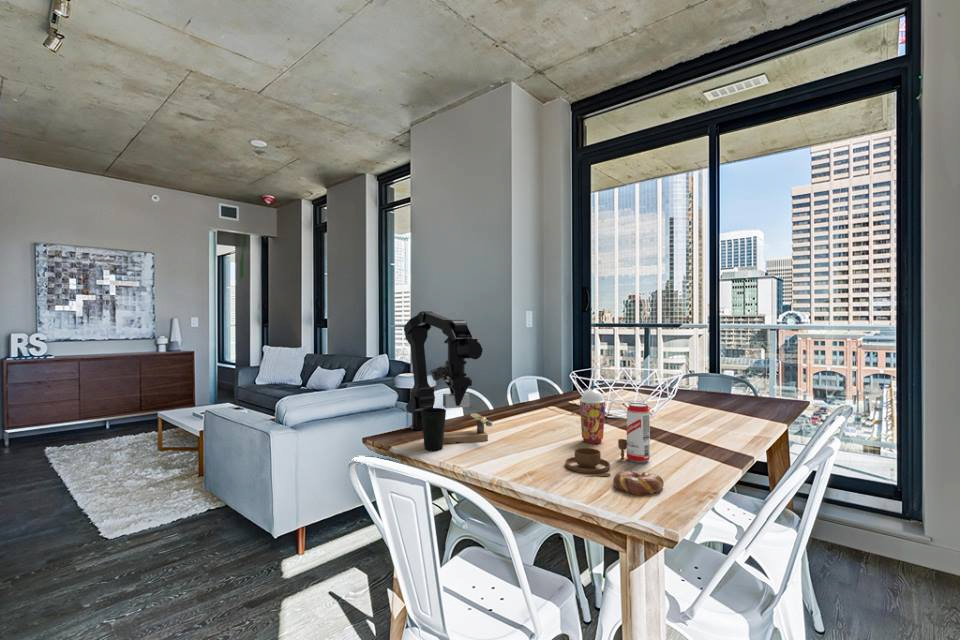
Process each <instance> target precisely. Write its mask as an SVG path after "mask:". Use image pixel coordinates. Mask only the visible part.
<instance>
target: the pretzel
mask: <svg viewBox="0 0 960 640" xmlns="http://www.w3.org/2000/svg"><path fill="white" fill-rule="evenodd" d="M612 482H613V486H614V487H615V488H616V489H617V490H619V491H621V492H624V493H629V494H630V495H634V496H644V495H648V494H650V495H651V494H652V495H653V494H654V493H655V494H658V493H660V492H661V491H662V489H663V488H664V485H665V483H664V481H663V478H662V477H661V476H660V475H659V474H656V473H649V472H646V471H643V472H640V471H638V470H633V469H632V470H622V471H619V472H618V473H616V474H615V475H614V477H613V479H612Z"/></svg>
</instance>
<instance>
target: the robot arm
mask: <svg viewBox="0 0 960 640" xmlns="http://www.w3.org/2000/svg"><path fill="white" fill-rule="evenodd" d="M432 327H434V328H437V329H439V330H441V333H442V334H444V335H445V336H446V339H445V340H444V341H443V343H444V344H447V360H446V361H445V364H444V365H440V366H438V367H436V368H433V369H431V370H430V371H429V372H430V375H431V377H432V380H433V381H434V382H436V381H439V380H442V381H443V382H444V383H445V385H446V386H447V387H448V388H449V394H451V393H454V396H455V402H456V406H460V404H461V401H462V399H463V397H464V395H465V393H467V390H468V388H469V387H472V386H473V379H472V378H471V377H470V376H468V375H467V373H466V364H467V359H468V360H479V358H481V356H482V355H483V347H482V345H481V344H480V342H479V341H478V338H477V337H474V335H473V333H472V330H471V329H470V326H469V325H468V322H467V320H466V319H458V318H457V319H456V318H454V319H453V318H448V317H446V316H443V315H440V314H437V313H436V312H434V311H428V310H422V311H419V312H418V314H417V315H415V316H414V317H412V318H410V319H409V320H408V321H407V322H406V323H405V324H404V326H403V331H404V337H405V340H406V341H407V343H408V344H409V345H410V351H411V361H412V372H413V373H412V375H413V383H414V384H413V387H412V389H411V392H410V399H409V401H408V402H407V403H406V405H405V409H406V412H407V413H409V414H411V425H409V428H410V429H411V430H412V431H419V430H420V431H421V430H422V431H423V425H422V414H421V410H423V409H427V408H434V406H435V401H436V396H435V389H434V387H433V386H432V387H431V386H430V384H429V380H428V371H427V360H426V349H425V343H426V341H427V339H428V337H429V336H428V335H429V331H430V330H431V329H432ZM412 427H414V428H412Z"/></svg>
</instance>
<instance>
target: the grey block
mask: <svg viewBox="0 0 960 640" xmlns="http://www.w3.org/2000/svg"><path fill="white" fill-rule="evenodd" d="M470 395H471V394H469V393H468V392H465V395H464V397H463V399H462V401H461V404H460V406H456V402H455V396H454V393H443V394H442V406H443V407H444V409H456V408H470V407H471V406H470V404H471V403H470V402H471V401H470V400H471V399H470V398H471V397H470Z"/></svg>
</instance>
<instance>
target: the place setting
mask: <svg viewBox="0 0 960 640" xmlns="http://www.w3.org/2000/svg"><path fill="white" fill-rule="evenodd" d="M617 445H618V449H619V450H620V452H621V453H620V458H621V460H625V459H626V457H625V450H627V439H626V438H625V439H624V438H619V439H618V440H617ZM601 455H602V454H601V451H600V450H598V449H596V448H590V447H581V448H576V449H575V450H574V456H573V457H569V458H566V459H565V462H564V463H565V466H566V467H567V468H568V469H569V471H570V470H571V471H572V472H576V473H582V474H588V475H584V476H583V477H584V478H589V477H590V478H591V477H599V478H600V477H601V478H608V477H610V476H611V475H612V473H607V472H608V471H609V469H610V468H611V463H610V462H609V461H608V460H605V459H602V458H601V457H602V456H601ZM574 463H575V464H577V465H578V466H579V467H578V466H577V467H576V466H573V465H571V464H574ZM598 465H602V466H603V467H602V468H596V467H597V466H598ZM589 474H591V475H589ZM593 474H594V475H593Z"/></svg>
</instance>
